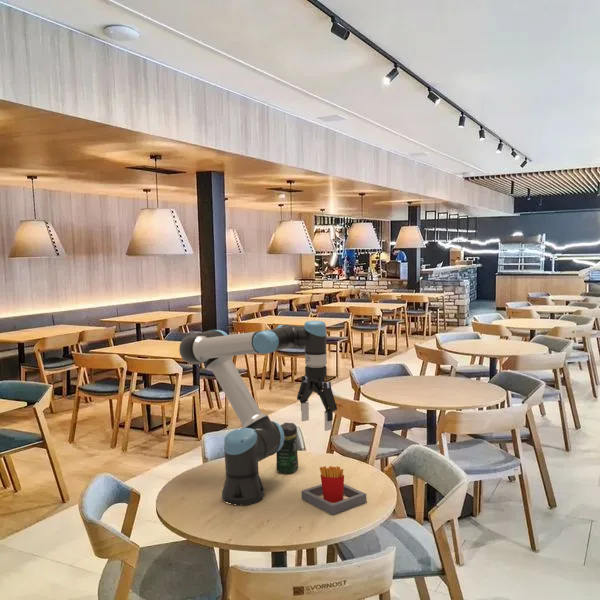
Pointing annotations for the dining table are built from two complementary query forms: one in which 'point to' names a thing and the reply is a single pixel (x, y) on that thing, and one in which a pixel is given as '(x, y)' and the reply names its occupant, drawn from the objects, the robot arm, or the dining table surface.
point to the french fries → (332, 483)
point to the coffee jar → (288, 450)
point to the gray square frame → (334, 508)
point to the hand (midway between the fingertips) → (316, 425)
